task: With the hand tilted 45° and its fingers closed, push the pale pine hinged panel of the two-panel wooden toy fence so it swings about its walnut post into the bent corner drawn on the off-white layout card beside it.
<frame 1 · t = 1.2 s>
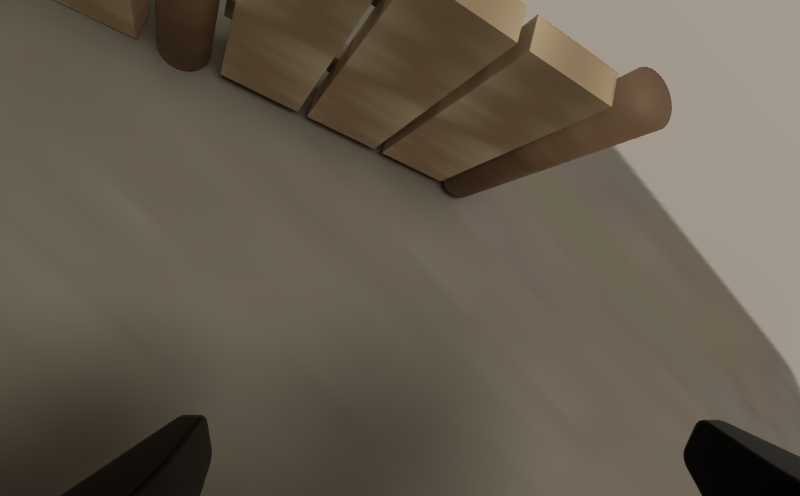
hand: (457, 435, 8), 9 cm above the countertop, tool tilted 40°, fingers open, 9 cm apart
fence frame: (184, 47, 15), on the countertop
fence panel: (414, 76, 13), point 5 cm above the countertop, hinge at 0.0°
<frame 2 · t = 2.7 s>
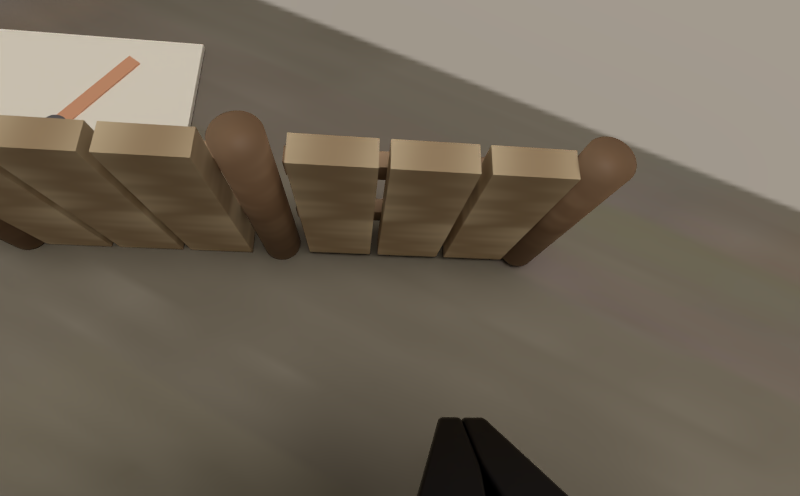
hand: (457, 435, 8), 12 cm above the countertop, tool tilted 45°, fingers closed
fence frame: (282, 242, 21), on the countertop
layout card: (41, 111, 22), on the countertop
fence panel: (434, 205, 17), point 5 cm above the countertop, hinge at 0.0°
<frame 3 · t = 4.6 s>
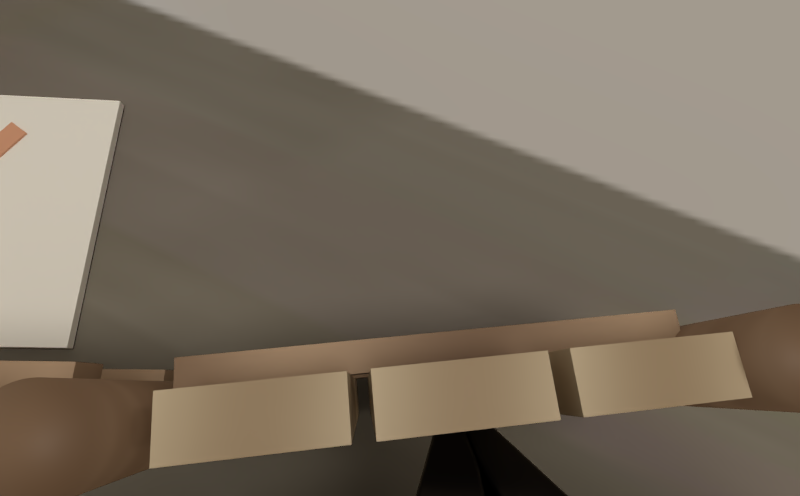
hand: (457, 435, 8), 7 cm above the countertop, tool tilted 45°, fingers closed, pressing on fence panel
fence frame: (228, 410, 14), on the countertop
fence panel: (455, 382, 11), point 5 cm above the countertop, hinge at 6.4°, touching gripper
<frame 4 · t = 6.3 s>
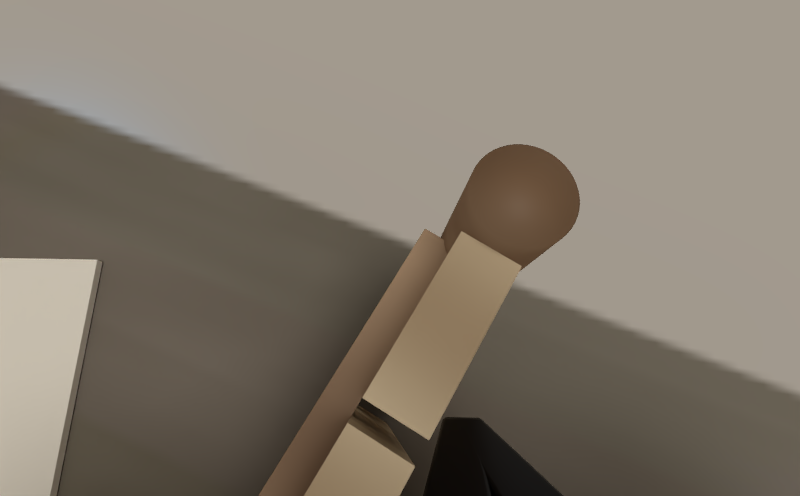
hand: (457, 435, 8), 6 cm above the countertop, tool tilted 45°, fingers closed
fence panel: (349, 453, 9), point 5 cm above the countertop, hinge at 59.0°, touching gripper
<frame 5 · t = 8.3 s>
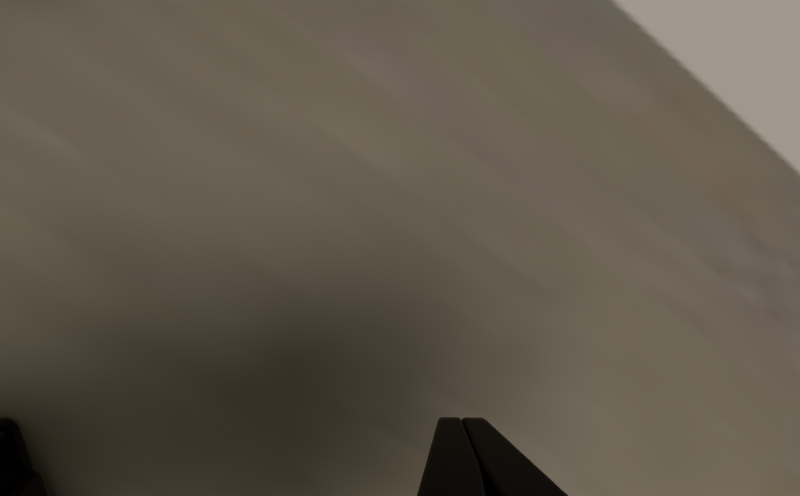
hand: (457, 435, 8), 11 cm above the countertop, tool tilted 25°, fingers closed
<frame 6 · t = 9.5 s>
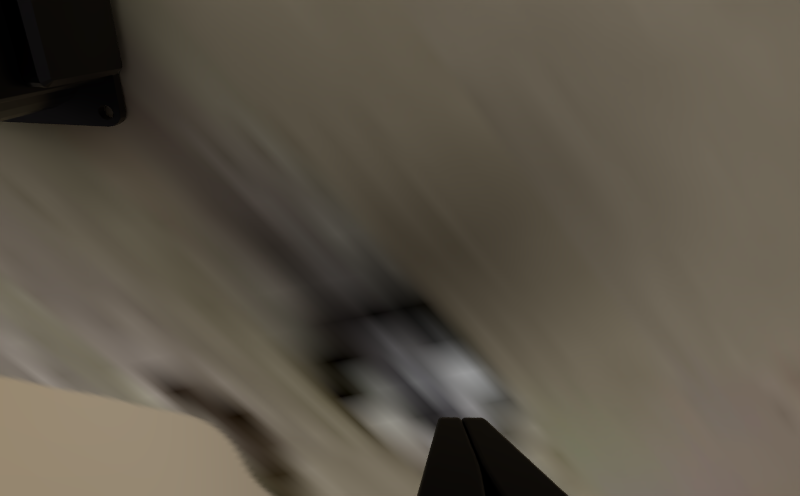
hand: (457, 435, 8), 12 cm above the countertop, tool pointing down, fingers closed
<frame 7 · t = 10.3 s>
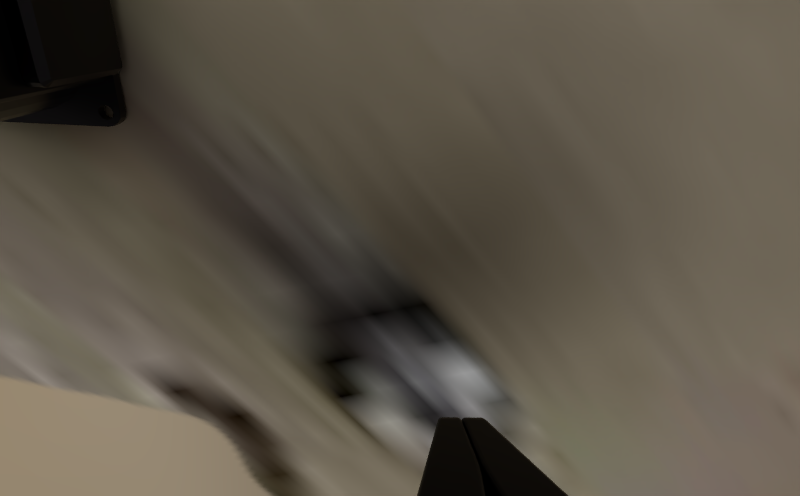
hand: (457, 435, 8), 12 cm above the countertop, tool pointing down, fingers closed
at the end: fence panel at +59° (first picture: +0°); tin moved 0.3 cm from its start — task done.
